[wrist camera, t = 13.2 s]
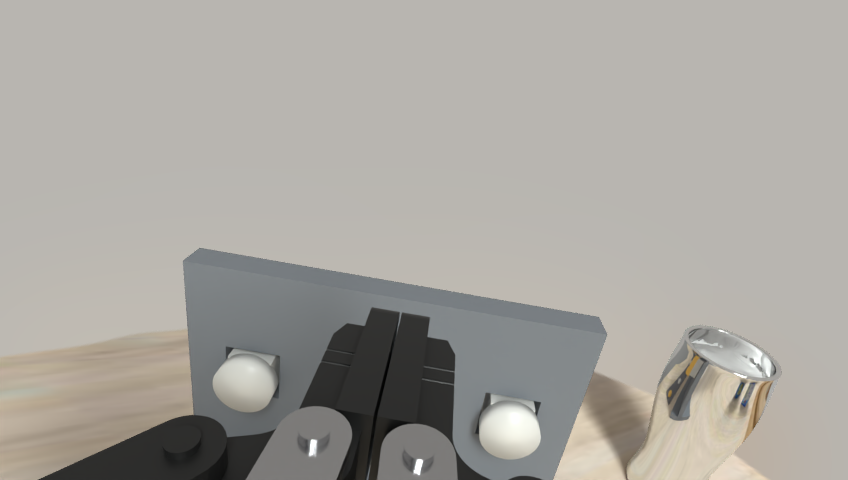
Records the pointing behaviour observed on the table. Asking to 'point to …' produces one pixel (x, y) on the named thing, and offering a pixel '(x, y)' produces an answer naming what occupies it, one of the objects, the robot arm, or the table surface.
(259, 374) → the button
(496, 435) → the button
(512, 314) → the button panel
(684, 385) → the silver metal cup
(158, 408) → the table surface
